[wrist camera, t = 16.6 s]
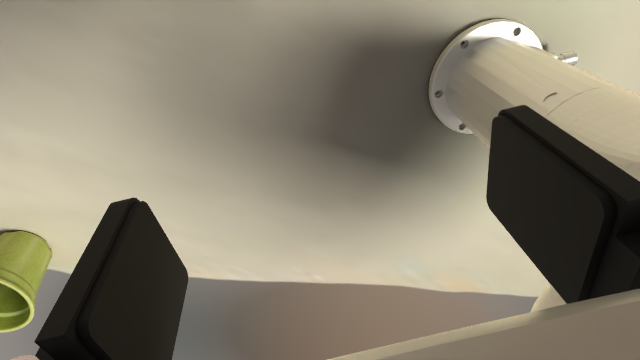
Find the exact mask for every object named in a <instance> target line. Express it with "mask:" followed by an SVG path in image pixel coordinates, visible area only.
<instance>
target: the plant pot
mask: <svg viewBox="0 0 640 360" xmlns="http://www.w3.org/2000/svg"><path fill="white" fill-rule="evenodd" d="M51 257H52V251H51V250H50V249H49V247H48V245H47V243H46V241H45V240H43V239H42V238H40V237H39V236H37V235H34V234H32V233H28V232H24V231H16V232H10V233H8V232H5V233H3V234H1V235H0V332H9V331H13V330H17V329H19V328H22V327H24V326H26V325H27V324H28V323H29V322H30V321H31V320H32V318H33V316H34V313H35V307H34V304H35V300H36V299H35V296H36V294H37V291H38V288H39V286H40V283H41V281H42V279H43V276H44V274H45V271H46V269H47V267H48V264H49V262H50V260H51Z"/></svg>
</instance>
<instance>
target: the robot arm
mask: <svg viewBox="0 0 640 360" xmlns="http://www.w3.org/2000/svg"><path fill="white" fill-rule="evenodd" d="M462 41H463V42H462ZM461 42H462V44H461ZM577 60H578V57H577V54H576V53H575V52H568V53H564V54H560V55H559V56H556V55H554V54H552V53H549V52H547V51H545V50H543V47H542V44H541V42H540V40H539V38H538V37H537V35H536V34H535V33H534V32H533V31H532V30H531V29H530V28H528V27H527V26H525V25H524V24H521V23H518V22H516V21H512V20H507V19H492V20H488V21H484V22H481V23H478V24H476V25H474V26H472V27H470V28H468V29H467V30H465V31H463V32H462V33H460V34H459V35H458V36H457V37H456V38H455V39H454V40H452V41H451V42H450V43H449V44H448V46H447V47H446V48H445V49H444V51H443V52H442V53H441V55H440V56H439V58H438V60H437V62H436V63H435V66H434V68H433V71H432V73H431V77H430V82H429V100H430V105H431V107H432V109H433V112H434V114H435V115H436V116H437V117H438V119H439V120H440V121H441V122H442V123H443V124H444V125H445V126H447V127H448V128H450V129H451V130H453V131H456V132H459V133H465V134H475V135H476V136H477V137H478V138H479V139H480V140H481V141H482V142H483V143H484V144H485V145H486V146H487V147H488V148H489V149H490V155H489V169H488V182H487V196H486V198H487V203H488V206H489V208H490V210H491V211H492V212H493V214H494V215H495V216H496V217H497V219H498V220H499V221H500V222H501V224H502V225H503V226H504V227H505V228H506V230H507V231H508V232H509V233H510V235H511V236H512V237H513V238H514V240H515V241H516V242H517V243H518V245H519V246H520V247H521V248H522V249H523V251H524V252H525V253H526V254H527V256H528V257H529V258H530V259H531V261H532V262H533V263H534V264H535V266H536V267H537V268H538V269H539V270H540V272H541V273H542V274H543V275H544V277H545V278H546V279H547V280H548V282H549V283H550V284H549V285H548V287H547V288H546V289H545V290H544V291H543V292H542V294H541V295H540V296H539V297H538V299H537V300H536V302H535V303H534V306H533V308H532V310H531V312H530V313H526V314H521V315H516V316H512V317H508V318H504V319H499V320H495V321H490V322H486V323H482V324H478V325H473V326H469V327H464V328H460V329H456V330H452V331H447V332H443V333H438V334H434V335H430V336H425V337H421V338H417V339H413V340H408V341H404V342H400V343H396V344H392V345H387V346H383V347H379V348H375V349H370V350H366V351H362V352H357V353H353V354H349V355H344V356H341V357H336V358H332V359H328V360H640V95H638V94H636V93H634V92H632V91H629V90H627V89H624V88H621V87H619V86H617V85H615V84H612V83H610V82H608V81H606V80H603V79H601V78H599V77H597V76H594V75H592V74H590V73H588V72H585V71H583V70H581V69H579V68H576V67H574V66H572V65H575V64H576V63H577ZM436 91H437V93H436ZM187 283H188V273H187V270H186V268H185V266H184V265H183V263H182V261H181V259H180V258H179V256H178V254H177V253H176V251H175V249H174V248H173V246H172V244H171V243H170V241H169V239H168V238H167V236H166V234H165V233H164V231H163V229H162V228H161V226H160V224H159V223H158V221H157V219H156V217H155V216H154V214H153V212H152V211H151V209H150V207H149V206H148V204H147V203H146V202H144V201H141V202H140V201H139V200H138V199H137V198H130V199H126V200H122V201H117V202H113V203H111V204H110V205H109V207H108V209H107V211H106V213H105V214H104V216H103V218H102V220H101V222H100V223H99V225H98V227H97V229H96V231H95V233H94V234H93V236H92V238H91V240H90V242H89V243H88V245H87V247H86V249H85V251H84V253H83V254H82V256H81V258H80V260H79V262H78V263H77V265H76V267H75V269H74V271H73V273H72V274H71V276H70V278H69V280H68V282H67V284H66V285H65V287H64V289H63V291H62V293H61V294H60V296H59V298H58V300H57V302H56V303H55V305H54V307H53V309H52V311H51V313H50V315H49V316H48V318H47V320H46V322H45V323H44V325H43V327H42V329H41V331H40V333H39V334H38V336H37V338H36V340H35V343H36V344H37V345H39V346H40V348H39V350H38V352H37V354H36V355H35V356H31V355H25V356H19V357H16V358H13V359H11V360H172V355H173V350H174V345H175V341H176V336H177V332H178V327H179V322H180V317H181V312H182V308H183V302H184V298H185V293H186V289H187Z"/></svg>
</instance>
